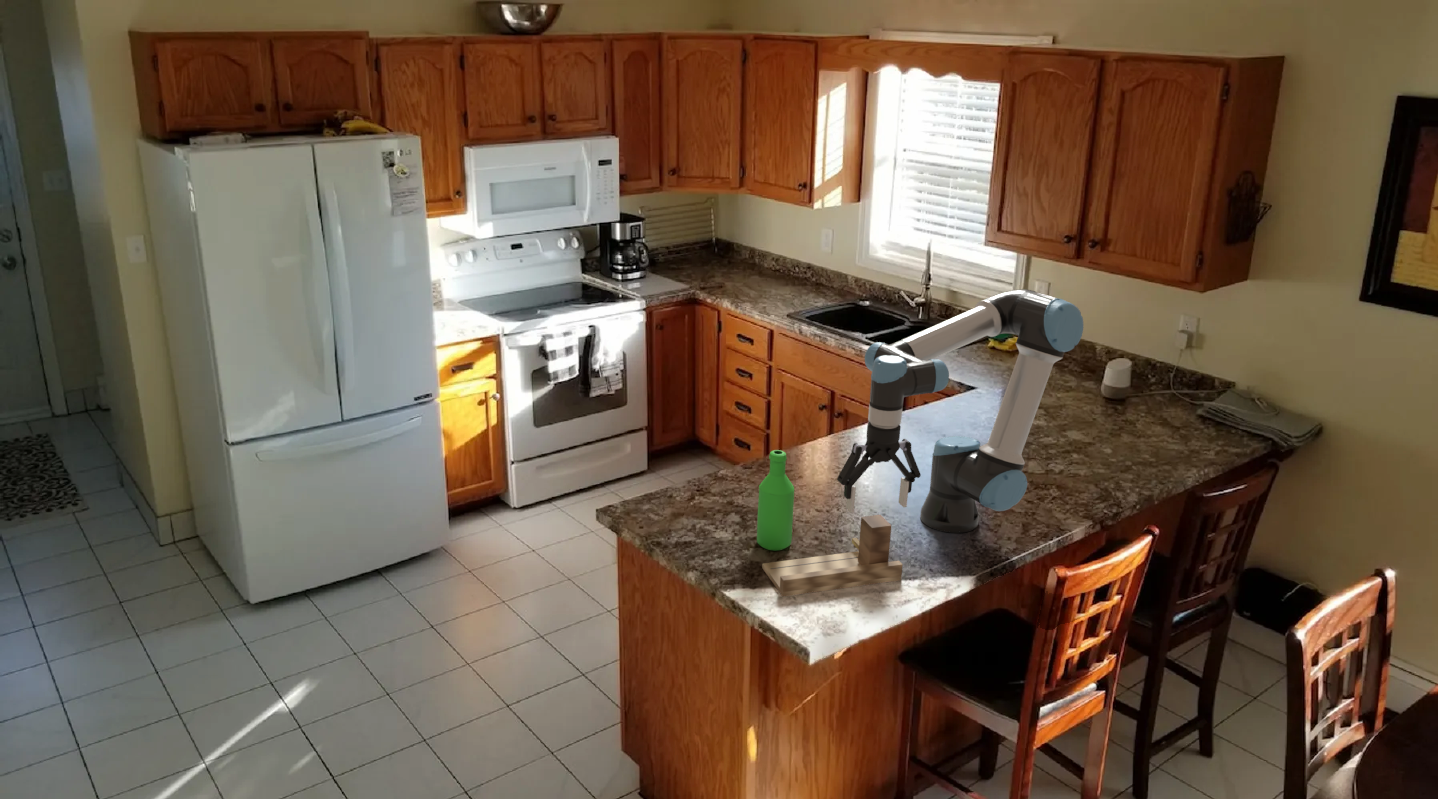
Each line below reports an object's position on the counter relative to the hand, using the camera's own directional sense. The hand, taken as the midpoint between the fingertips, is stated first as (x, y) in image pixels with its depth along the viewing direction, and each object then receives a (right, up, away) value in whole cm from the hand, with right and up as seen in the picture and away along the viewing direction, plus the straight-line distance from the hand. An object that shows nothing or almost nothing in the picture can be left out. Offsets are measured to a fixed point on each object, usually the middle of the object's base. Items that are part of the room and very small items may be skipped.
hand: (876, 507), depth 253 cm
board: (-10, -16, +4) cm, 20 cm away
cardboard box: (-1, -13, +9) cm, 16 cm away
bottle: (-23, -11, +18) cm, 32 cm away
